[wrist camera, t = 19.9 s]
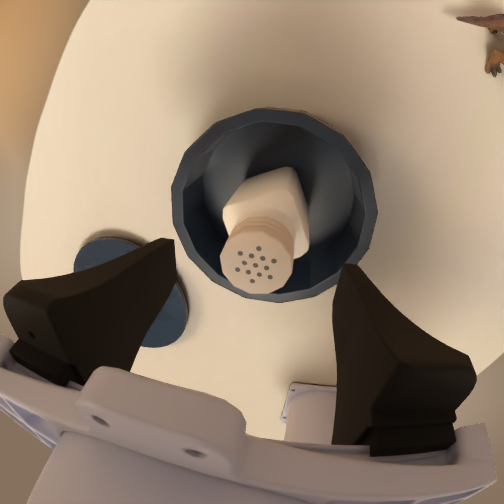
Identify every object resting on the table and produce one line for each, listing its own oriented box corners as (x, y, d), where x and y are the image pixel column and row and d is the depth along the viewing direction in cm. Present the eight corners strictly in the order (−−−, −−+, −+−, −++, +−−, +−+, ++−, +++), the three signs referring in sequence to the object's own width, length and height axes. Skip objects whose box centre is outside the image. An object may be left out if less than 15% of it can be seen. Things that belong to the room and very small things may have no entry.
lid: (194, 352, 31) (181, 383, 27) (95, 325, 33) (76, 349, 29) (185, 243, 25) (163, 272, 21) (67, 227, 26) (39, 248, 22)
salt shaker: (294, 162, 20) (285, 210, 11) (311, 213, 21) (312, 292, 13) (240, 179, 21) (196, 236, 13) (259, 227, 22) (231, 308, 14)
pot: (344, 278, 24) (349, 312, 20) (196, 257, 25) (177, 286, 21) (375, 123, 18) (393, 129, 14) (196, 104, 19) (170, 106, 15)
